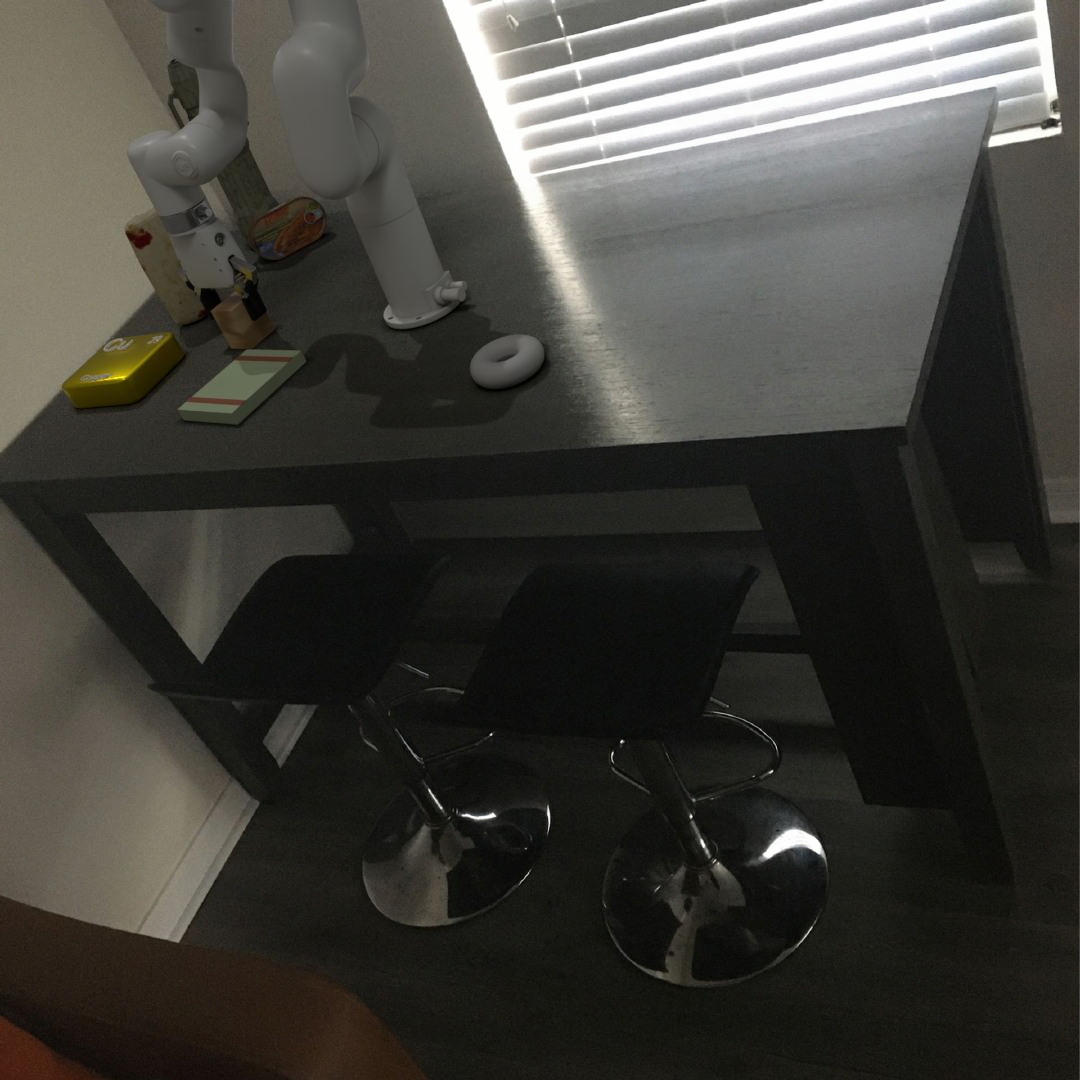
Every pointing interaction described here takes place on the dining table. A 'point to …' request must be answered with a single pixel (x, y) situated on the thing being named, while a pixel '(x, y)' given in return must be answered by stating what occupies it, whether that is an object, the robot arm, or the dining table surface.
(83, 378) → the element tile
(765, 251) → the dining table surface
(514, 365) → the donut
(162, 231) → the food model
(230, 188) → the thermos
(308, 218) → the tin
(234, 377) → the towel
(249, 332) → the block
